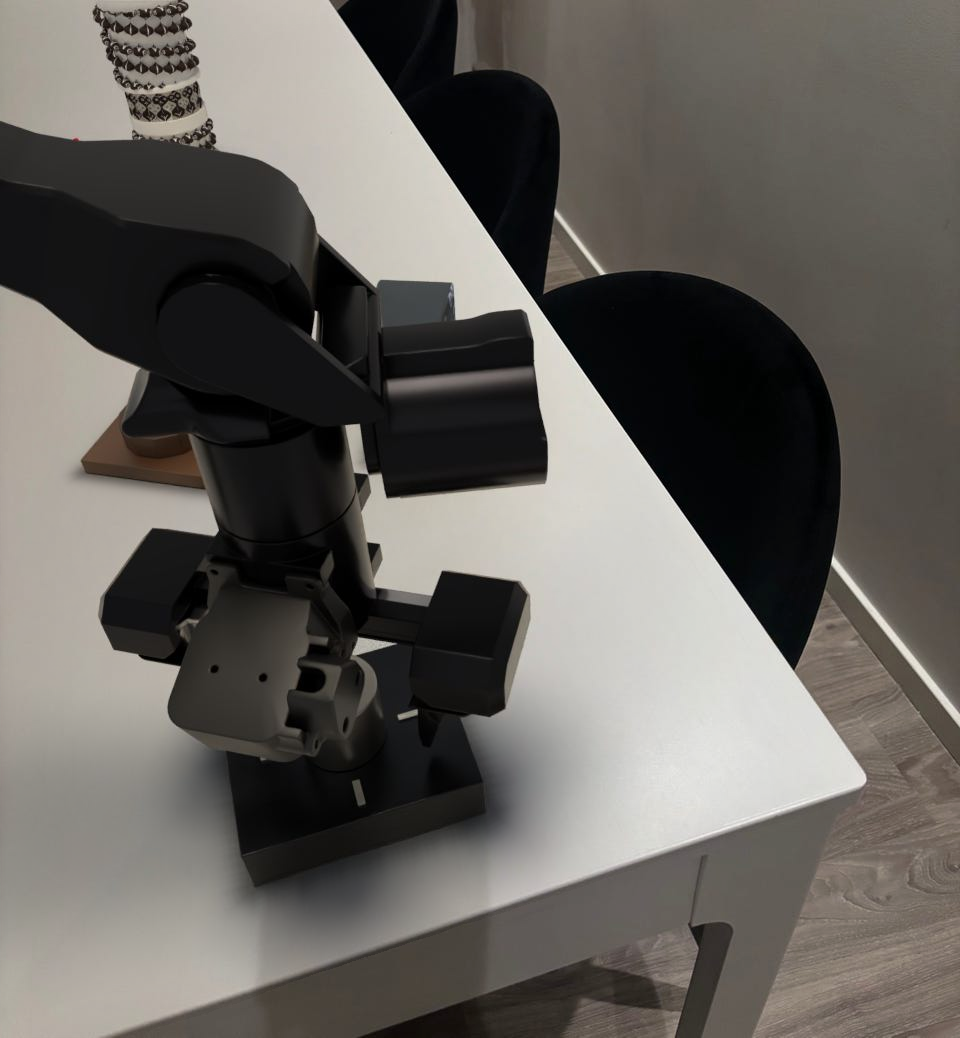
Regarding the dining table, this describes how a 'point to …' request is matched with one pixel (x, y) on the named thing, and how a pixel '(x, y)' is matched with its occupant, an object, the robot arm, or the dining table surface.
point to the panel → (355, 788)
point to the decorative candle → (156, 69)
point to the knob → (357, 731)
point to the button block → (144, 457)
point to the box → (415, 302)
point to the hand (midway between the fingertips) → (342, 723)
